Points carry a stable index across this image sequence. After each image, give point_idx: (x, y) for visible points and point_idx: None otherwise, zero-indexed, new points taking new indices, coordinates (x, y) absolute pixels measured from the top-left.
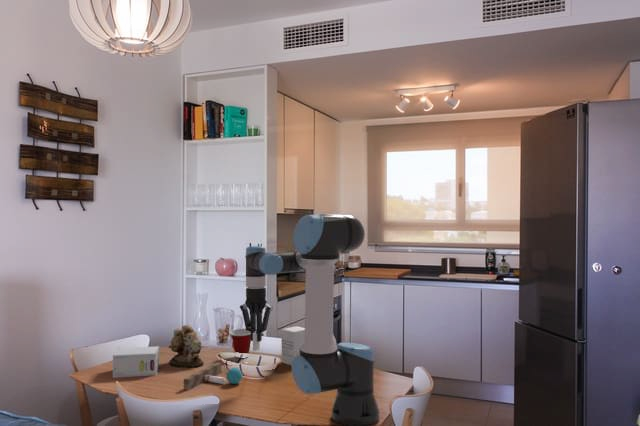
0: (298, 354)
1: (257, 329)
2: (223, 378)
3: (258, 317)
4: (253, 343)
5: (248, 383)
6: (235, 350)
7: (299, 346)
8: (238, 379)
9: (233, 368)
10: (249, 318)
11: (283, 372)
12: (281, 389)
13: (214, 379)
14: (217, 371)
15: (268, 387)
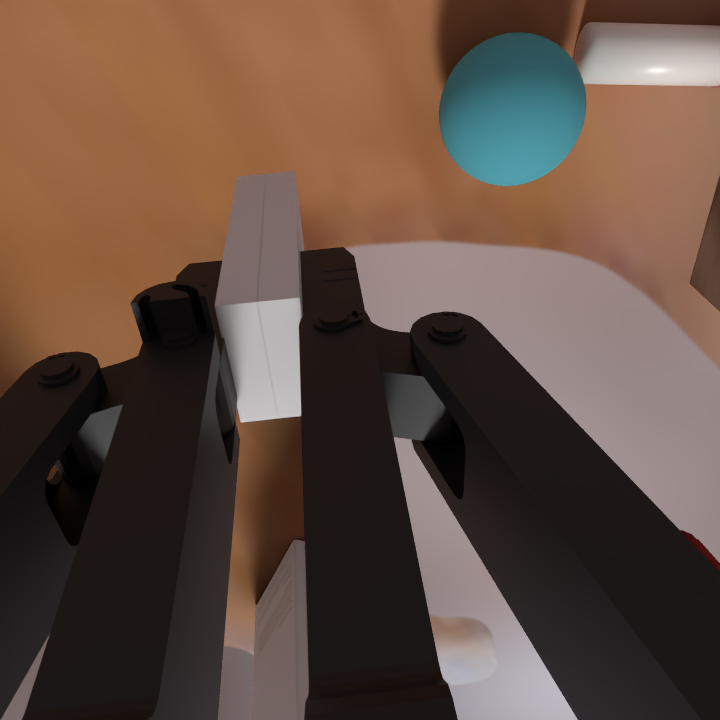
0: (281, 615)
1: (180, 365)
2: (595, 52)
3: (75, 640)
4: (284, 213)
5: (386, 149)
6: (714, 563)
7: (278, 667)
8: (448, 77)
9: (536, 118)
10: (517, 614)
11: (290, 440)
12: (48, 121)
13: (675, 28)
14: (717, 243)
15: (178, 124)
